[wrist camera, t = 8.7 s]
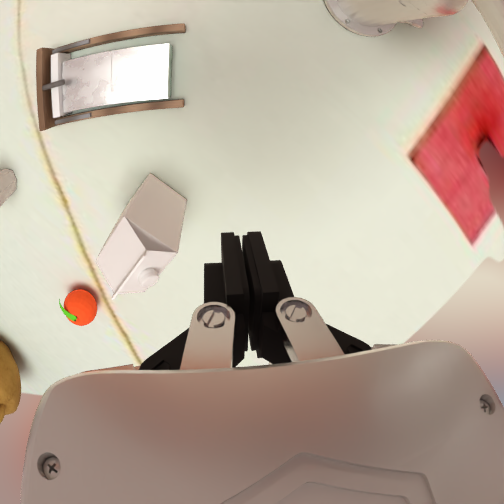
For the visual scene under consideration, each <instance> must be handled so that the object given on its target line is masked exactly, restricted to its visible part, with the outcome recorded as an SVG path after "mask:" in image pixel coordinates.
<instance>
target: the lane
mask: <svg viewBox="0 0 504 504" xmlns="http://www.w3.org/2000/svg"><path fill="white" fill-rule="evenodd" d="M185 27H186V26H185V24H172V25H162V26H153V27H146V28H139V29H133V30H127V31H121V32H116V33H111V34H107V35H102V36H98V37H94V38H90V39H86V40H82V41H78V42H75V43H71V44H68V45H65V46H62V47H59V48H56V49H51V48H40V49H38V50H37V56H36V82H37V105H38V117H39V128H40V131H43V130H46V129H49V128H51V127H54V126H57V125H61V124H65V123H70V122H74V121H79V120H84V119H90V118H95V117H101V116H107V115H113V114H120V113H127V112H135V111H144V110H154V109H165V108H178V107H184V99H182V100H168V101H156V102H147V103H138V104H130V105H123V106H116V107H110V108H104V109H98V110H93V111H87V112H82V113H78V114H73V115H68V116H64V117H62V116H60V117H56V118H53V111H52V94H51V88H54V87H58V86H61V85H64V84H65V80H64V79H63V80H59V81H56V82H52V83H51V55H53V54H56V53H66V54H67V53H70V52H74V51H78V50H81V49H85V48H89V47H93V46H97V45H102V44H106V43H111V42H116V41H122V40H127V39H133V38H140V37H147V36H155V35H164V34H174V33H185Z"/></svg>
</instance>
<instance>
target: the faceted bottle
mask: <svg viewBox="0 0 504 504" xmlns="http://www.w3.org/2000/svg"><path fill="white" fill-rule="evenodd" d="M16 182H17V179H16V177H15V175H14V172H13V170H9V169H3V170H1V171H0V206H1V205H2V204H3V203H4V202H5V201H6V200H7V198H8V197H9V196H10V195H11V194H12V193H13V192H14V191H15V190H16Z"/></svg>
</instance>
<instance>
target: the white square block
mask: <svg viewBox="0 0 504 504" xmlns="http://www.w3.org/2000/svg"><path fill="white" fill-rule="evenodd" d="M63 79H64V80H65V84H64V85H62V92H63V113H65V112H70V111H75V110H80V109H85V108H90V107H96V106H102V105H108V104H112V51H106V52H101V53H97V54H92V55H88V56H83V57H79V58H75V59H71V60H68V61H64V62H62V80H63Z"/></svg>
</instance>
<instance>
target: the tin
mask: <svg viewBox="0 0 504 504" xmlns="http://www.w3.org/2000/svg"><path fill="white" fill-rule="evenodd" d="M171 64H172V46H171V45H170V44H169V43H167V44H156V45H147V46H139V47H131V48H125V49H118V50H113V51H112V104H116V103H124V102H133V101H142V100H153V99H167V98H169V97H171Z"/></svg>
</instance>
